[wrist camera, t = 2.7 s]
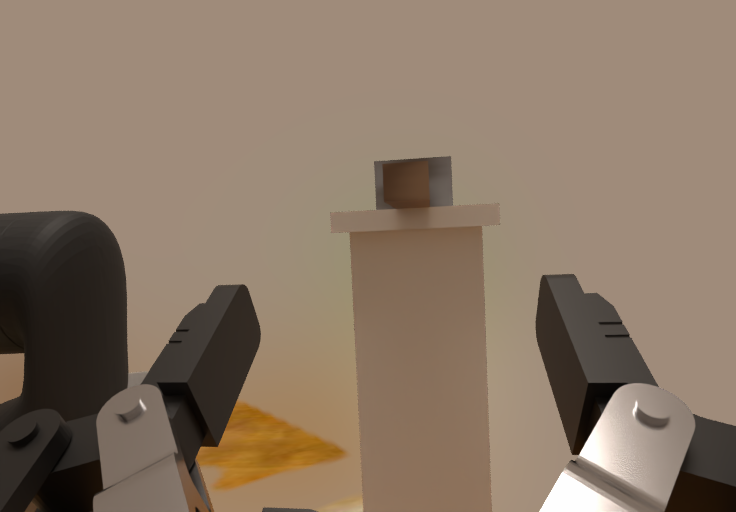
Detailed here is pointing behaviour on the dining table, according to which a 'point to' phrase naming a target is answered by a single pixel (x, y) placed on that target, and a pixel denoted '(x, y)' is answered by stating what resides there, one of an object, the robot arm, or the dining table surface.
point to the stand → (421, 356)
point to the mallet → (413, 183)
